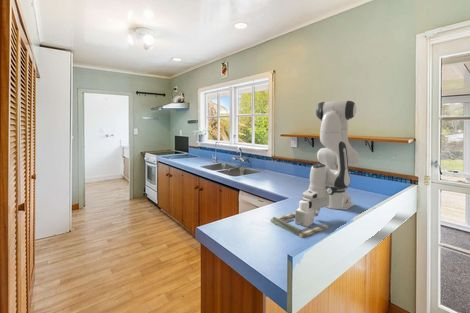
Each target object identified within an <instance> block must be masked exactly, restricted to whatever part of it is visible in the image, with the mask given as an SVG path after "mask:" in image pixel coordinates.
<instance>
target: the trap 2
mask: <svg viewBox="0 0 470 313" xmlns="http://www.w3.org/2000/svg"><path fill="white" fill-rule="evenodd" d="M313 228H314V227H311V226H309V227H305V228H301V233H302V232H305V231H308V230H311V229H313Z"/></svg>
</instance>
